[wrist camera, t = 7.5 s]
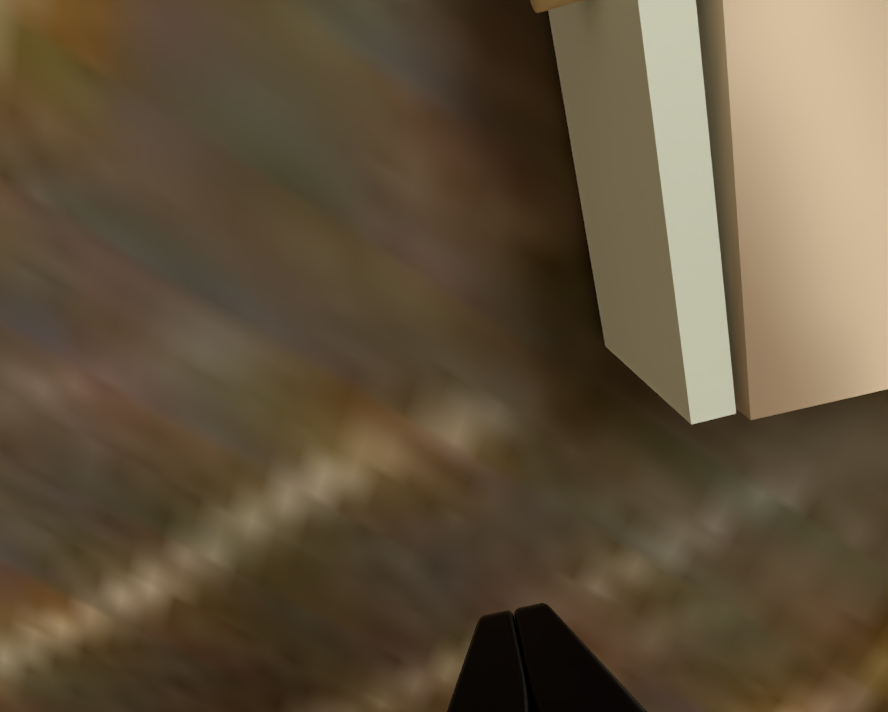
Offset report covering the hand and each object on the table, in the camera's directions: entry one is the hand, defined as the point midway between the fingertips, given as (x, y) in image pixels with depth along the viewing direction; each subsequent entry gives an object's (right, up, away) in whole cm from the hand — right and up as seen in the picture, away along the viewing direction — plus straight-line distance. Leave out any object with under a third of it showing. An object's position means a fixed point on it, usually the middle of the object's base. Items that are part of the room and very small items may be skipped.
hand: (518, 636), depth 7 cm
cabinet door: (+3, +9, +10) cm, 13 cm away
